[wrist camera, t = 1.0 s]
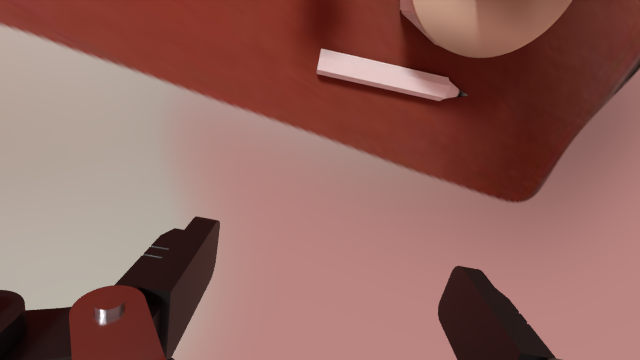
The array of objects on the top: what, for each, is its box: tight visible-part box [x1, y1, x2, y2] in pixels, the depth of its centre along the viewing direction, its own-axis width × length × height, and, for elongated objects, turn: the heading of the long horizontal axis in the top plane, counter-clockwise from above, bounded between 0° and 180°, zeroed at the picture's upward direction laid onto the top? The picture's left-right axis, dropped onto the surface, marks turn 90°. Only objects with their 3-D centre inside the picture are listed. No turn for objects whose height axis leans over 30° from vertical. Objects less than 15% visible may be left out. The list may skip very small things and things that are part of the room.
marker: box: [316, 48, 469, 101], centre depth 33 cm, size 3×2×16 cm
